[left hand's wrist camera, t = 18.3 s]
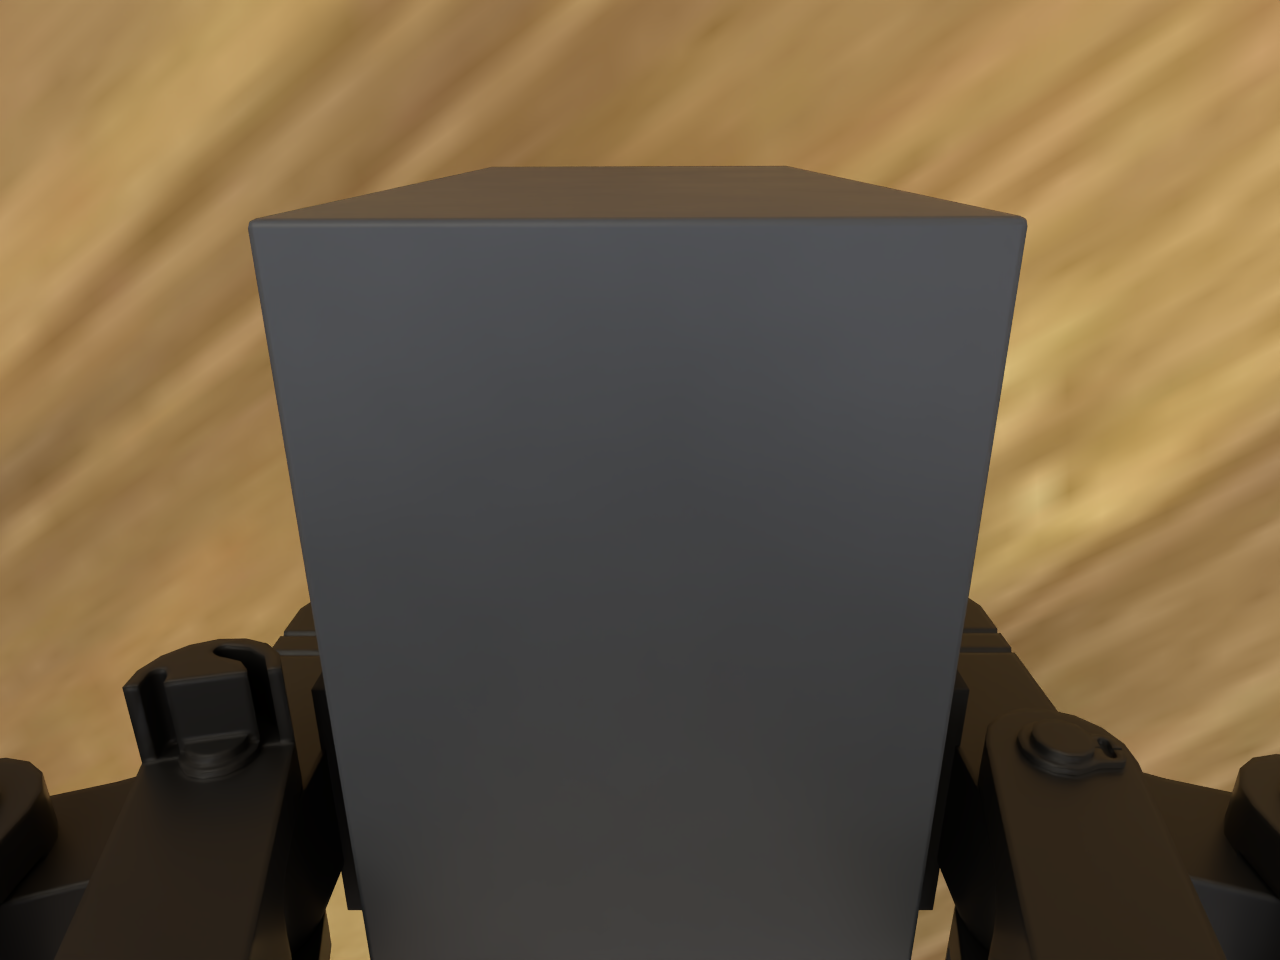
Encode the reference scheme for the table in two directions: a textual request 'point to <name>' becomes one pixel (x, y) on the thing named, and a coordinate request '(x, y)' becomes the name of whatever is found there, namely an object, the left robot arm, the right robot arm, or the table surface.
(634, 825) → the bar
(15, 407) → the table surface
